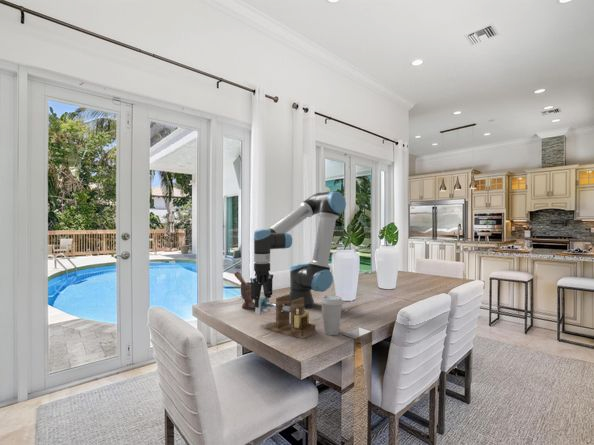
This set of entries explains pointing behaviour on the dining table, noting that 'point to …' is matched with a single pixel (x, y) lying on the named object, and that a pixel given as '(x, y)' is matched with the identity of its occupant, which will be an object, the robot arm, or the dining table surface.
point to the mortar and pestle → (245, 292)
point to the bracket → (283, 318)
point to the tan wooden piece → (298, 320)
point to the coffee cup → (331, 313)
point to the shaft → (272, 305)
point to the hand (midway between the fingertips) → (261, 312)
